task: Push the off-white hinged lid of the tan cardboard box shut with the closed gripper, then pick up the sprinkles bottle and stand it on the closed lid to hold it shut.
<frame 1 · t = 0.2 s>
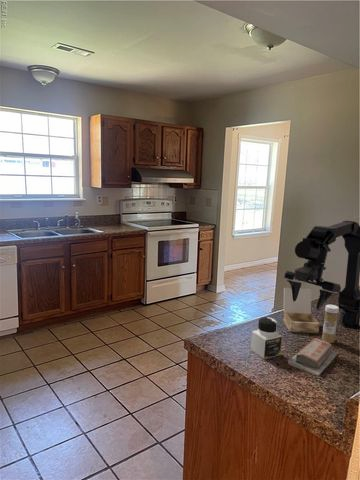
hand: (305, 305, 120), 15 cm above the countertop, tool pointing down, fingers open, 9 cm apart
sprinkles bottle: (328, 340, 128), on the countertop
lid: (297, 300, 145), point 9 cm above the countertop, hinge at 105.0°
box: (300, 327, 139), on the countertop
medicine bottle: (265, 353, 117), on the countertop
packaged product: (312, 361, 114), on the countertop
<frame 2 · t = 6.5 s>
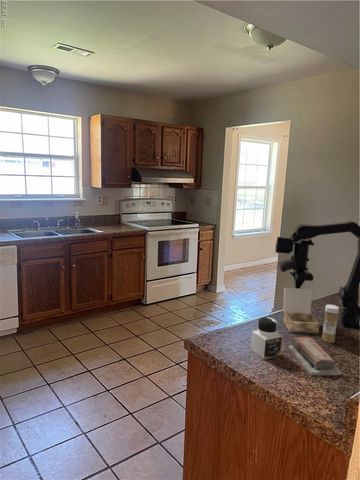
hand: (296, 290, 146), 13 cm above the countertop, tool pointing down, fingers closed
lid: (297, 300, 144), point 9 cm above the countertop, hinge at 103.4°, touching gripper
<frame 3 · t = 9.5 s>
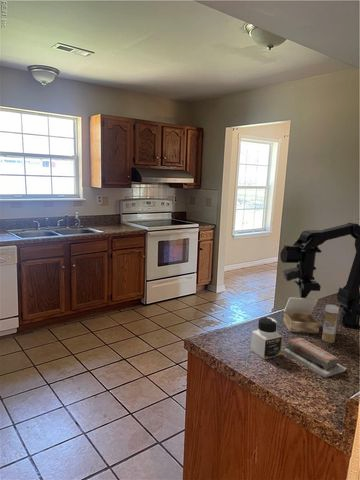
hand: (302, 300, 138), 11 cm above the countertop, tool pointing down, fingers closed, pressing on lid
lid: (300, 305, 140), point 8 cm above the countertop, hinge at 53.4°, touching gripper
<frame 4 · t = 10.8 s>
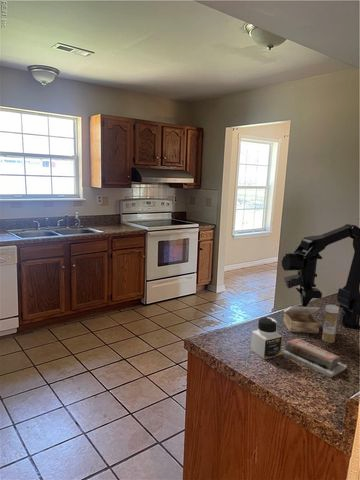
hand: (303, 307, 136), 9 cm above the countertop, tool pointing down, fingers closed, pressing on lid
lid: (301, 309, 139), point 7 cm above the countertop, hinge at 31.7°, touching gripper
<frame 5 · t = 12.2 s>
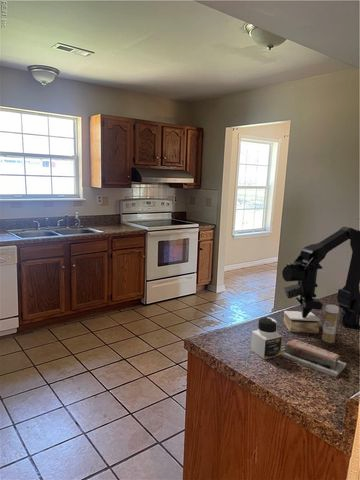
hand: (303, 317, 135), 5 cm above the countertop, tool pointing down, fingers closed, pressing on lid
lid: (301, 315, 139), point 5 cm above the countertop, hinge at 5.4°, touching gripper
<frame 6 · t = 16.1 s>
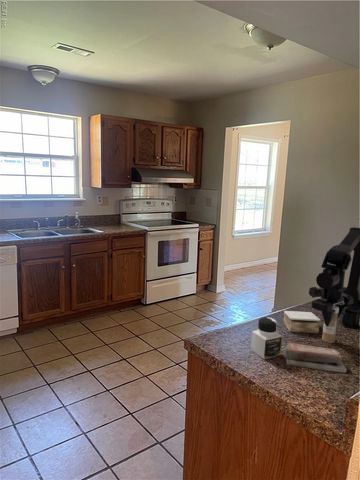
hand: (330, 324, 127), 7 cm above the countertop, tool pointing down, fingers closed on sprinkles bottle, 4 cm apart
sprinkles bottle: (328, 340, 128), on the countertop, touching gripper
lid: (301, 315, 139), point 5 cm above the countertop, hinge at 5.3°
when the fingers open (12 cm above the countertop, at t = 18.9 s): sprinkles bottle stays where it is, resting on lid.
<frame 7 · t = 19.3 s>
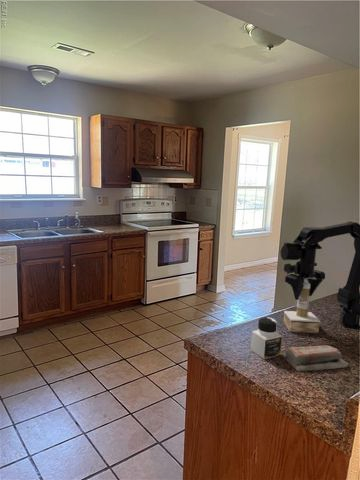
hand: (303, 297, 137), 12 cm above the countertop, tool pointing down, fingers open, 9 cm apart
sprinkles bottle: (302, 315, 139), point 5 cm above the countertop, touching lid
lid: (301, 316, 139), point 5 cm above the countertop, hinge at 3.0°, touching sprinkles bottle
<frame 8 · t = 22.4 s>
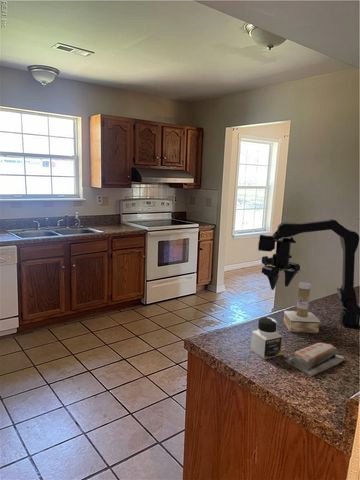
hand: (279, 288, 147), 13 cm above the countertop, tool pointing down, fingers open, 9 cm apart
at the end: lid at +3° (first picture: +105°); sprinkles bottle inside the target area on the box (0.3 cm from its centre), point 4.7 cm above the box's base; sprinkles bottle tilted 3° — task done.
